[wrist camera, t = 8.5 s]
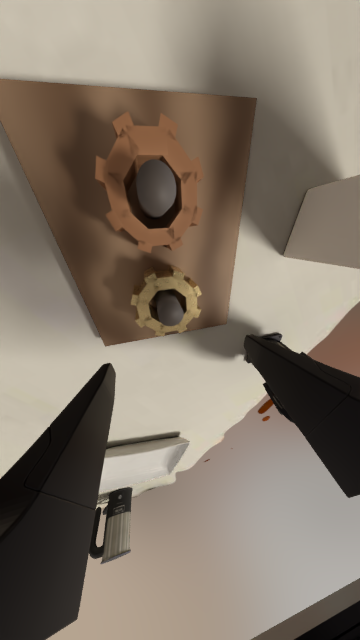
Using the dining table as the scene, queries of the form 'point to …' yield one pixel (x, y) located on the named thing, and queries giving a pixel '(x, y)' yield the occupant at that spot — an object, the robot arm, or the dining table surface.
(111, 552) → the milk frother
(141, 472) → the square plate
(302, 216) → the milk carton
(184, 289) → the wooden gear
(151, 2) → the dining table surface
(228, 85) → the dining table surface
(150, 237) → the gear board
